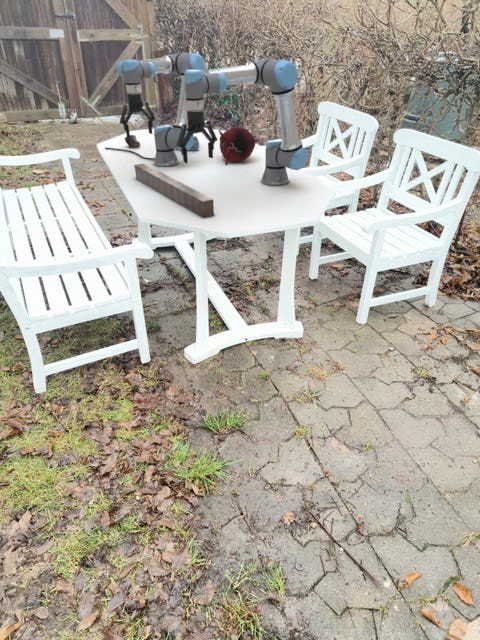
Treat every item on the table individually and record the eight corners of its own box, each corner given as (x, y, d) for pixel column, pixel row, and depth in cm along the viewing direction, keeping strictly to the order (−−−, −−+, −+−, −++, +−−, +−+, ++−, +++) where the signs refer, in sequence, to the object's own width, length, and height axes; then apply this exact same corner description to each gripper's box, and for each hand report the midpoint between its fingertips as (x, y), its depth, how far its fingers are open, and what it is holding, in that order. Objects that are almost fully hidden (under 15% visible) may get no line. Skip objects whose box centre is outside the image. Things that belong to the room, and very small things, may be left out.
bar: (136, 178, 269) (134, 164, 264) (145, 176, 272) (143, 163, 267) (203, 217, 217) (202, 201, 212) (213, 215, 219) (213, 199, 215)
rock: (137, 146, 338) (124, 147, 334) (135, 134, 334) (122, 135, 330) (142, 146, 329) (128, 148, 324) (140, 134, 325) (126, 135, 321)
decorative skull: (216, 133, 304) (216, 130, 280) (250, 125, 303) (253, 121, 280) (223, 165, 311) (223, 165, 287) (256, 157, 310) (259, 157, 286)
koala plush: (199, 151, 320) (197, 121, 309) (174, 151, 319) (171, 122, 308) (199, 145, 334) (197, 116, 323) (175, 145, 333) (172, 117, 322)
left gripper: (114, 96, 231) (121, 139, 243) (158, 91, 242) (162, 133, 255) (109, 94, 236) (116, 137, 248) (152, 90, 247) (156, 130, 260)
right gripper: (174, 115, 188) (178, 166, 200) (223, 108, 200) (225, 157, 212) (165, 112, 193) (170, 162, 205) (214, 105, 205) (216, 153, 217)
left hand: (139, 135), depth 251 cm, fingers open, 13 cm apart
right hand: (198, 160), depth 208 cm, fingers open, 13 cm apart
